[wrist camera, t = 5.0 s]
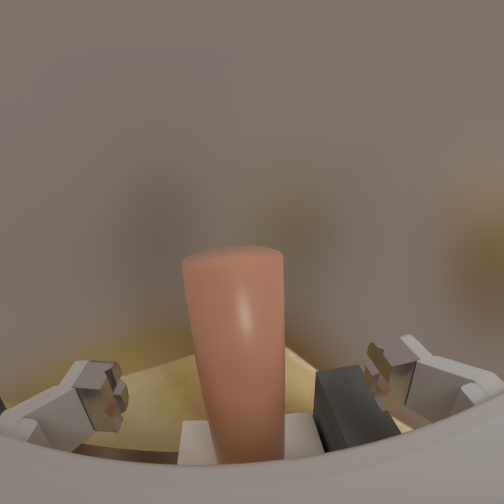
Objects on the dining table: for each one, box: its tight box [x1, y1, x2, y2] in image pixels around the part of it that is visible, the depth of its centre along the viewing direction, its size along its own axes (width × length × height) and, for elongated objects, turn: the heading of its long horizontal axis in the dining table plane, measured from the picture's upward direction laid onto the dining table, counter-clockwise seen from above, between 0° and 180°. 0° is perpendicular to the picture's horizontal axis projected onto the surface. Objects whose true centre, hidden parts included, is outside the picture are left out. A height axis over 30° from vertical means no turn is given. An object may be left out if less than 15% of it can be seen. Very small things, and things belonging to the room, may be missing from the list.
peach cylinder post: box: [177, 246, 325, 465], centre depth 11 cm, size 7×7×13 cm
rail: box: [0, 365, 401, 465], centre depth 12 cm, size 27×8×8 cm, turn 94°
